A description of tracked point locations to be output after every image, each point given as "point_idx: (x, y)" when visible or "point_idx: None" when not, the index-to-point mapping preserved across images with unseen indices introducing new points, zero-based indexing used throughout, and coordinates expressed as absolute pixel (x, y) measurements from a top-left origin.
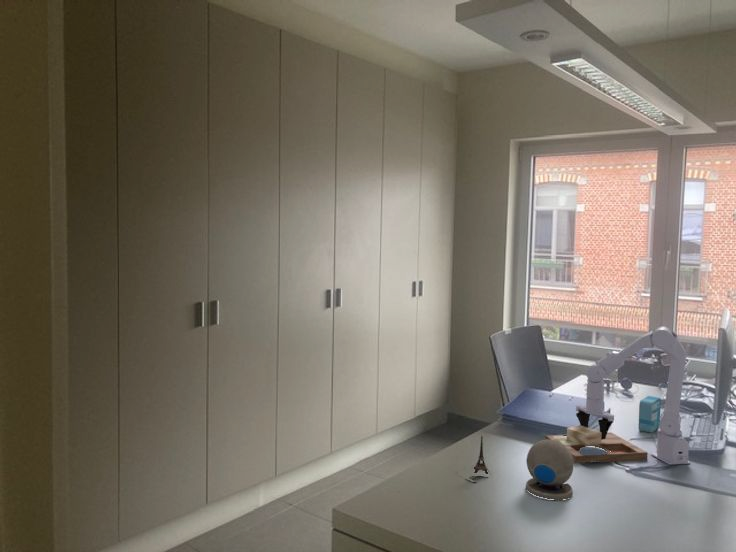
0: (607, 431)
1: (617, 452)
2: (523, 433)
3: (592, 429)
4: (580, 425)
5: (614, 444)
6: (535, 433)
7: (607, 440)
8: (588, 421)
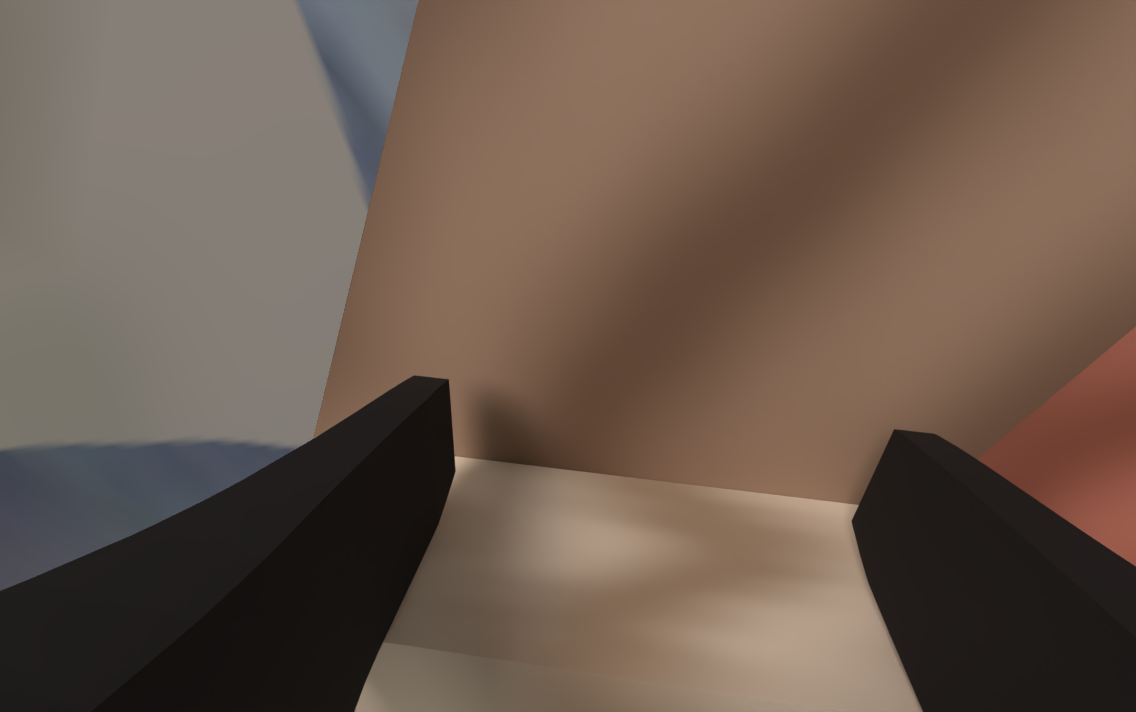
0: (1123, 579)
1: (1111, 354)
2: (15, 555)
3: (707, 702)
4: None
5: (1104, 332)
6: (18, 483)
7: (907, 272)
8: (293, 547)
